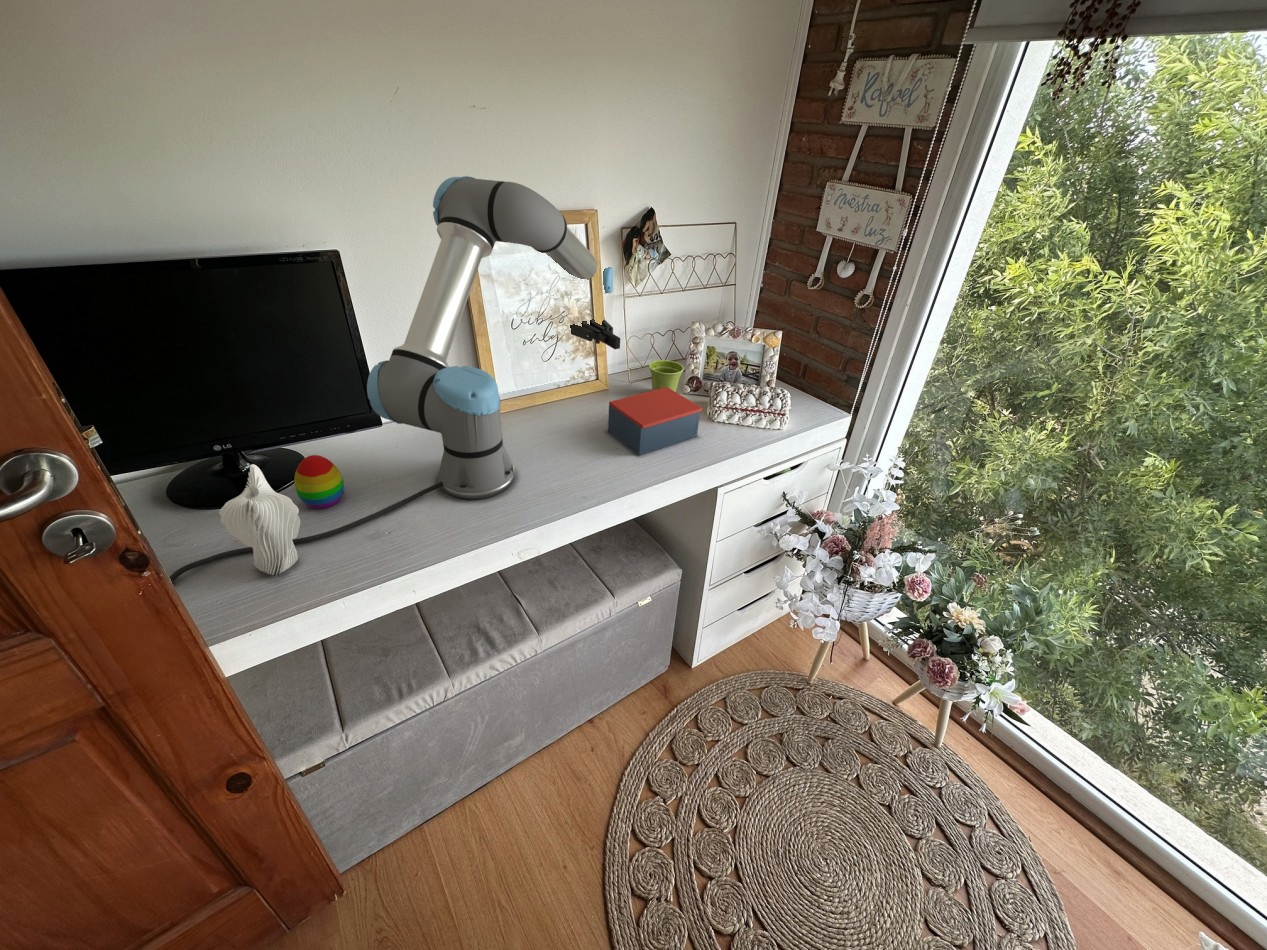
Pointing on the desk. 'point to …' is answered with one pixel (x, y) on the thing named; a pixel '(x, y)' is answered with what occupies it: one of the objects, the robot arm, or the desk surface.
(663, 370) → the plant pot
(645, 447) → the box
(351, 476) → the desk surface
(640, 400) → the lid
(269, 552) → the shell sculpture
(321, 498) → the decorative egg
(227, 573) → the desk surface
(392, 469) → the desk surface
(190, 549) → the desk surface
